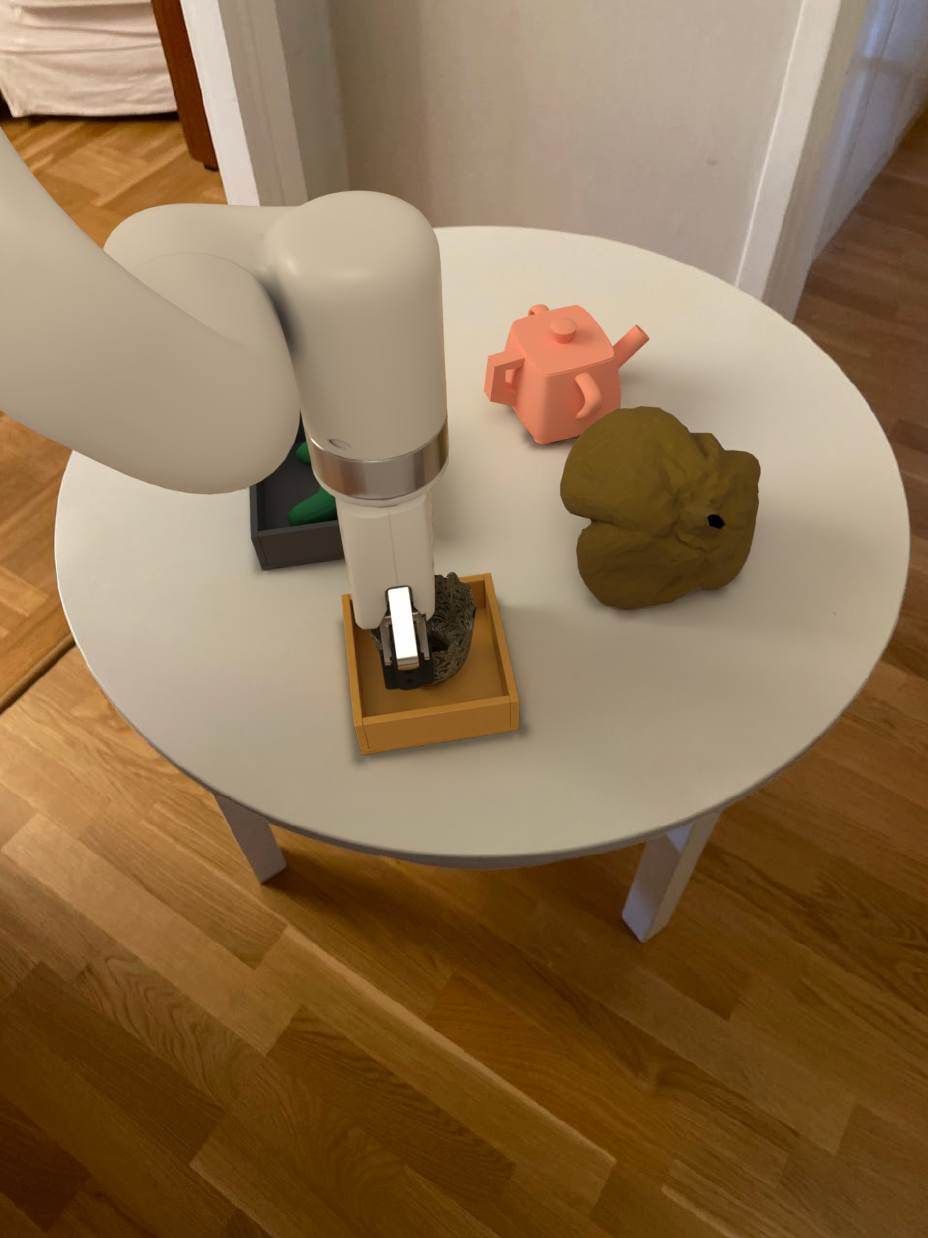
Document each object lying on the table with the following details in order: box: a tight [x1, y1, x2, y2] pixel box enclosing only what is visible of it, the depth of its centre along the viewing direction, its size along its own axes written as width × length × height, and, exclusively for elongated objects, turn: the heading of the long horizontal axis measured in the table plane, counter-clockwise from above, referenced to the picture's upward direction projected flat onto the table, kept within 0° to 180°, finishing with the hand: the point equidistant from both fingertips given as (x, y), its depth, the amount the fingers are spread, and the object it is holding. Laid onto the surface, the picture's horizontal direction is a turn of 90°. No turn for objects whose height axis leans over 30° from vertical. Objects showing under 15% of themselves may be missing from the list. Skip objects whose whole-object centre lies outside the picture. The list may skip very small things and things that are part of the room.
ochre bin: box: [340, 572, 520, 755], centre depth 67 cm, size 11×11×4 cm
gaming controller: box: [286, 441, 338, 527], centre depth 78 cm, size 9×4×6 cm
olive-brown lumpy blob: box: [559, 405, 762, 611], centre depth 69 cm, size 14×14×14 cm
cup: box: [368, 571, 476, 689], centre depth 65 cm, size 8×7×8 cm
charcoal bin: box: [248, 411, 345, 571], centre depth 78 cm, size 12×14×4 cm
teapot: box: [483, 303, 651, 445], centre depth 81 cm, size 12×12×10 cm
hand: (401, 623), depth 63 cm, fingers open, 9 cm apart
